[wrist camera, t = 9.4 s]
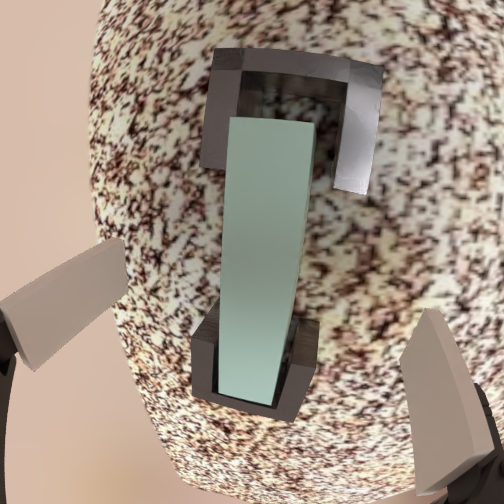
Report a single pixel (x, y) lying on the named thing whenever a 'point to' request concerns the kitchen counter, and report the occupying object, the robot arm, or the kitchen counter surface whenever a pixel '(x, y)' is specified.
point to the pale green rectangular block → (261, 249)
